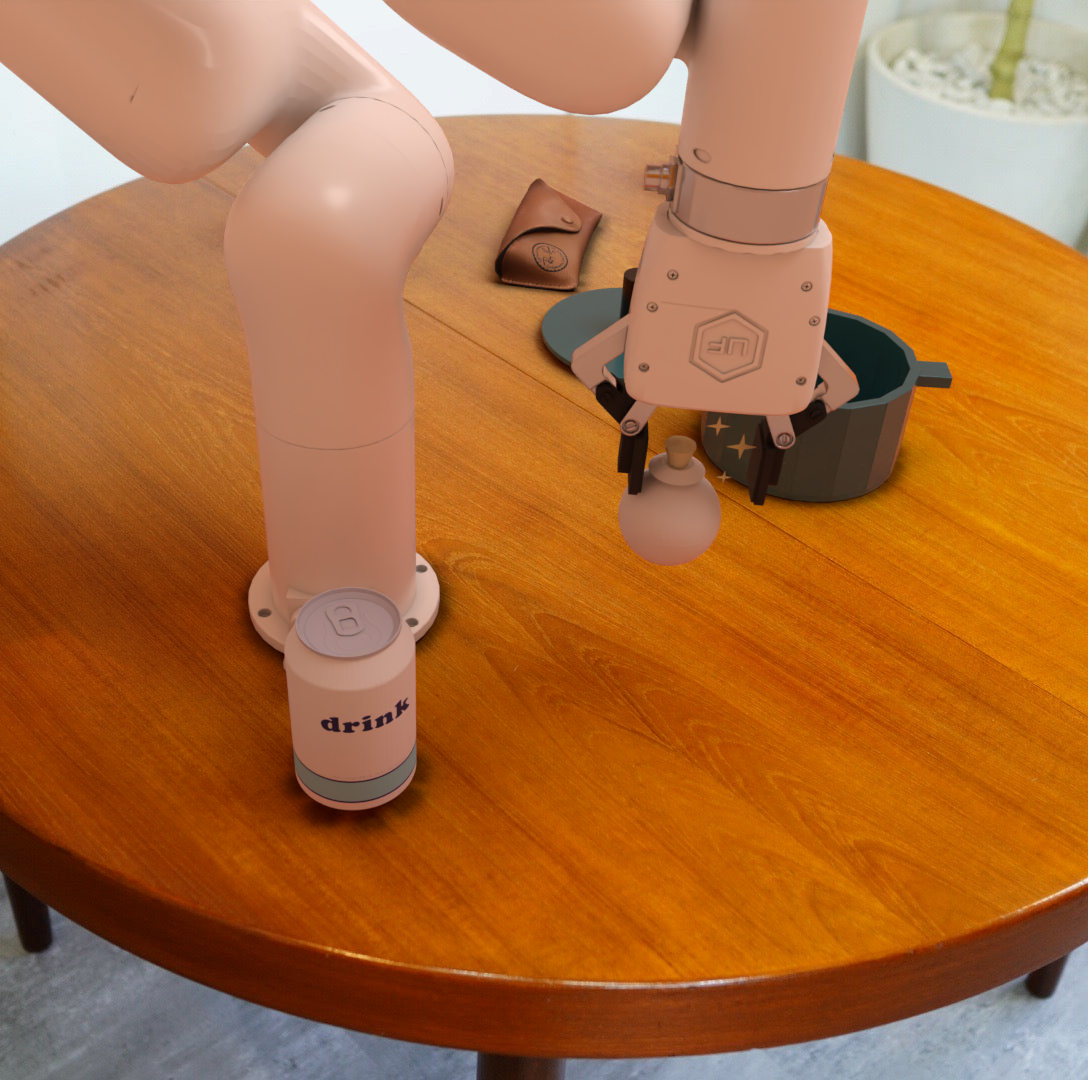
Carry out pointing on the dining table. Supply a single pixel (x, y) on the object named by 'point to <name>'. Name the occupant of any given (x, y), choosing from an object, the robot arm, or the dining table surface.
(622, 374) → the lid
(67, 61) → the robot arm
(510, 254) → the sunglasses case
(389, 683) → the beverage can
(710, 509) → the potion bottle
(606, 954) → the dining table surface
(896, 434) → the pot
